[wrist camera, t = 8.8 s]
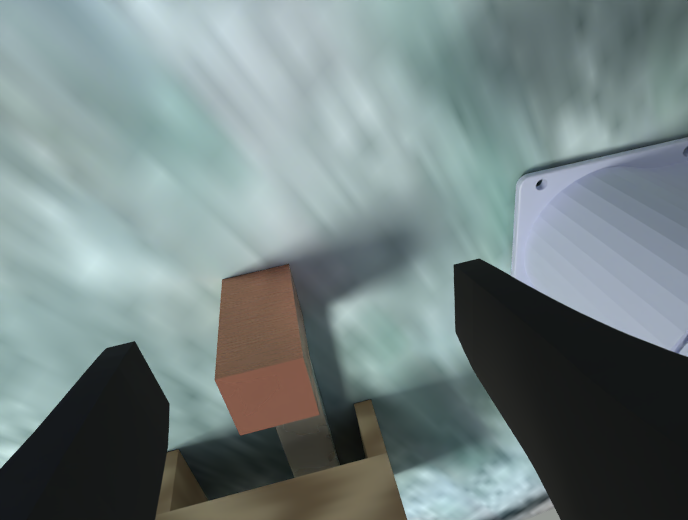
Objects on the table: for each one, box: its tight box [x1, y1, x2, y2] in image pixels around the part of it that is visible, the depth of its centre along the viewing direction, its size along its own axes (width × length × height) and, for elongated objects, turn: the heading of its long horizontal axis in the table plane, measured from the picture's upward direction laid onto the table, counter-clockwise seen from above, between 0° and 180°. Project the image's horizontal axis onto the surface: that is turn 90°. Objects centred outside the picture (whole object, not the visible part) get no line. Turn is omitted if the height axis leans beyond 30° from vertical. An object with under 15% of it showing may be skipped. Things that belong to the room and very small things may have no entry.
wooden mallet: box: [215, 264, 340, 478], centre depth 22 cm, size 3×17×6 cm, turn 9°
